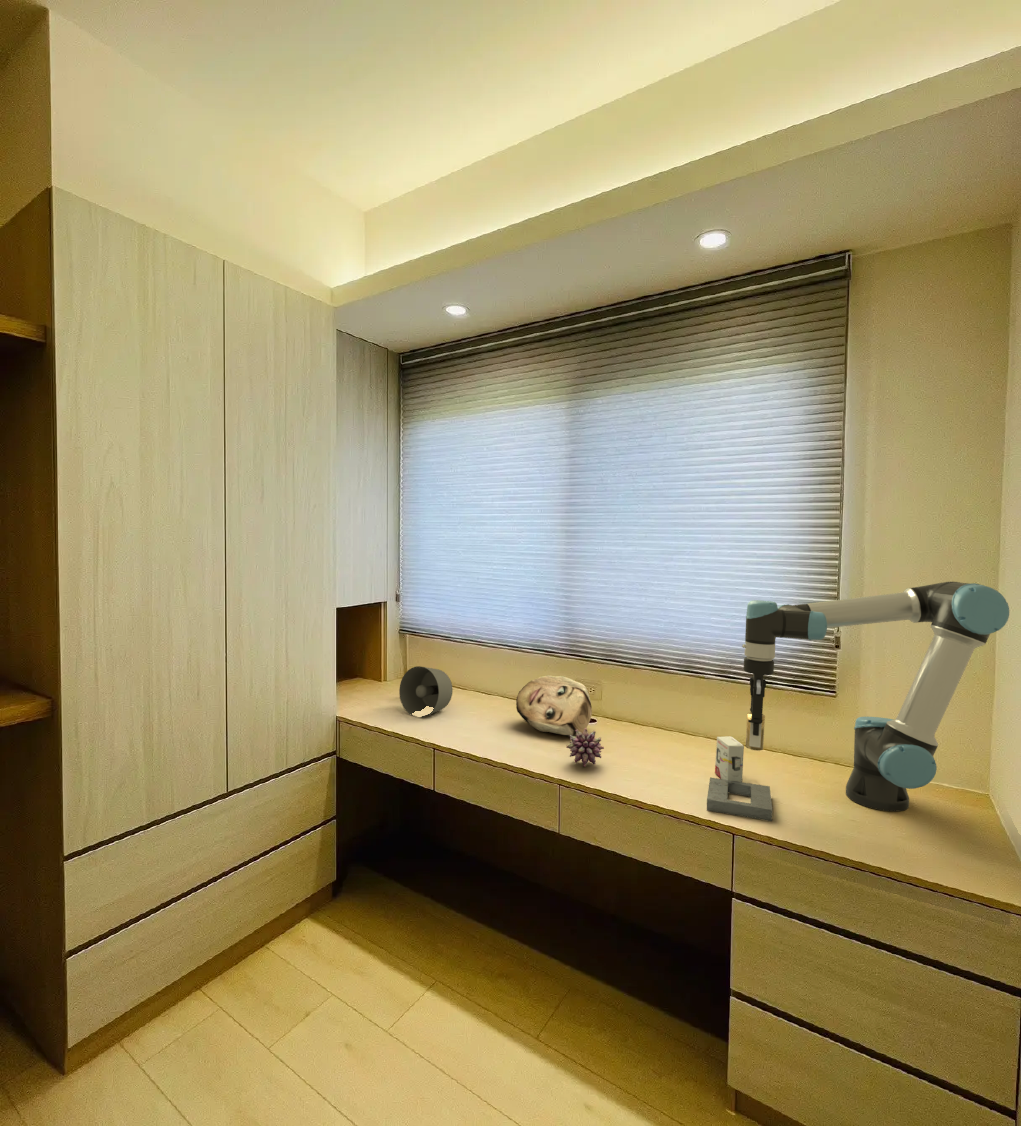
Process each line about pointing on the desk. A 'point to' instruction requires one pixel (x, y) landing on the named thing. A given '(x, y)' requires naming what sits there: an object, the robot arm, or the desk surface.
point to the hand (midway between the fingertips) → (754, 743)
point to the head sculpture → (555, 705)
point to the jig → (755, 809)
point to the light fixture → (425, 689)
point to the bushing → (749, 716)
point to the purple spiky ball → (585, 747)
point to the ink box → (729, 759)
